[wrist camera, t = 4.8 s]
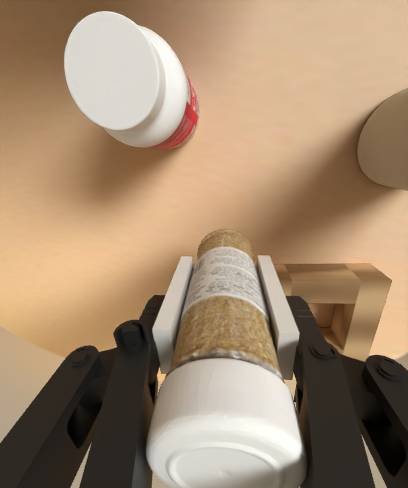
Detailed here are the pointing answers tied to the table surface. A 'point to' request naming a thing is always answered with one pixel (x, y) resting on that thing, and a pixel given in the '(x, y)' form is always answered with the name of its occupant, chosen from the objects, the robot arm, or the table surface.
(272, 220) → the table surface
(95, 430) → the robot arm
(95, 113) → the pill bottle
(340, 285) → the oak collar
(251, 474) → the sprinkles bottle
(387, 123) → the travel mug
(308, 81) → the table surface
